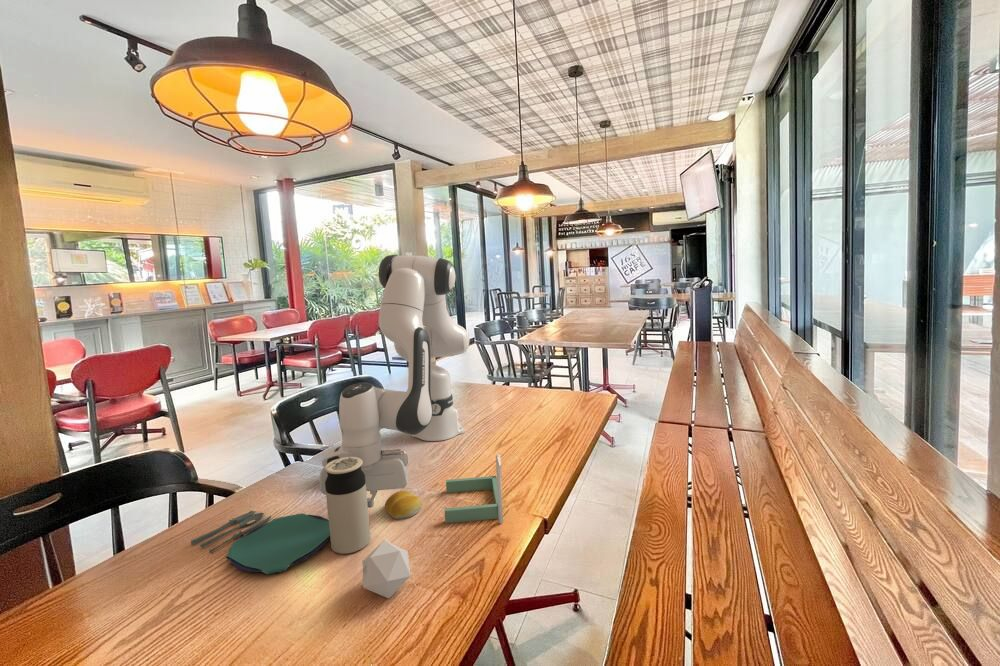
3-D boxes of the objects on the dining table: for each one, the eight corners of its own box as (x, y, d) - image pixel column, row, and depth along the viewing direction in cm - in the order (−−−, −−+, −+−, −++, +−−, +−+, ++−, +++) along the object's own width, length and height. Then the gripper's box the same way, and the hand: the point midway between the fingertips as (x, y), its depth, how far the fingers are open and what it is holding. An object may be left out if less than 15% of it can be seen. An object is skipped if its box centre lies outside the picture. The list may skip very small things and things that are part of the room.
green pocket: (446, 490, 115) (443, 432, 113) (496, 486, 116) (494, 428, 114) (444, 541, 93) (440, 470, 91) (505, 535, 94) (503, 465, 92)
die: (380, 571, 86) (349, 549, 80) (417, 548, 86) (389, 524, 80) (383, 613, 79) (349, 592, 73) (424, 587, 79) (393, 565, 73)
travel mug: (377, 535, 96) (371, 457, 94) (354, 558, 89) (347, 474, 86) (347, 530, 99) (340, 454, 96) (323, 551, 91) (314, 470, 89)
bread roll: (398, 524, 101) (397, 508, 100) (380, 509, 108) (379, 494, 107) (429, 510, 106) (428, 495, 106) (410, 497, 113) (409, 482, 112)
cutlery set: (273, 591, 81) (272, 580, 80) (180, 552, 94) (178, 542, 94) (352, 533, 98) (352, 523, 98) (264, 506, 112) (263, 498, 111)
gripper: (408, 443, 108) (412, 496, 110) (323, 450, 106) (328, 503, 108) (405, 454, 102) (409, 509, 104) (314, 461, 100) (320, 517, 102)
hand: (367, 506), depth 106 cm, fingers closed
